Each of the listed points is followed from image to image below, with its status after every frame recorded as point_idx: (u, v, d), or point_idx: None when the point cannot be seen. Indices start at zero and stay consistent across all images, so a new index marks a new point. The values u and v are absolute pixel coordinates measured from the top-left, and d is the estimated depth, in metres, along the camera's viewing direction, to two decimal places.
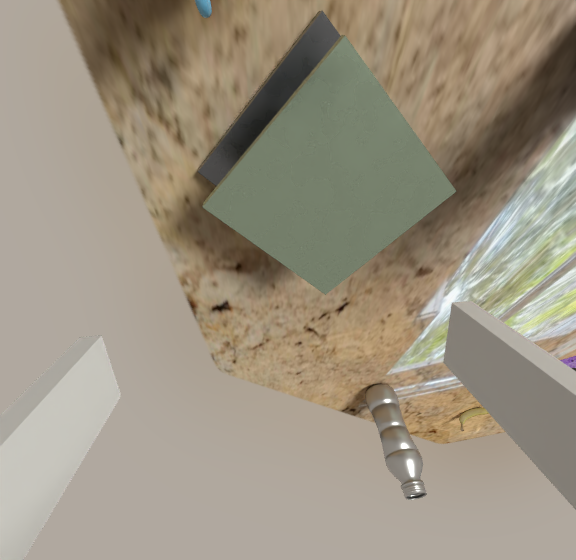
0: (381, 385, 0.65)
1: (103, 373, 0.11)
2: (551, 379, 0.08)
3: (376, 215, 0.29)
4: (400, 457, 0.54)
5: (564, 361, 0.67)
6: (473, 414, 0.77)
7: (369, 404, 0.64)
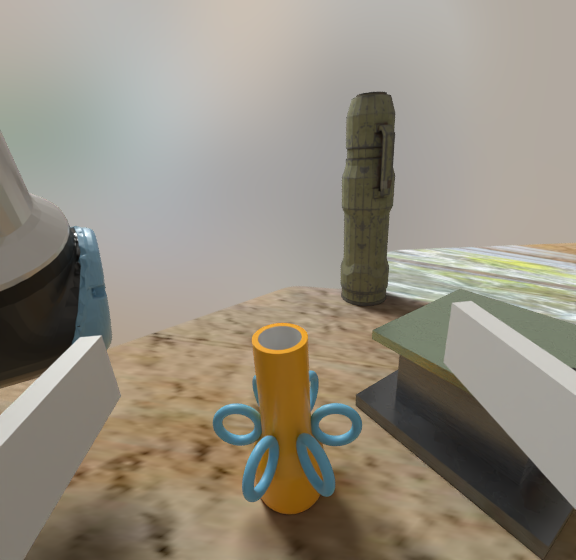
0: None
1: (103, 373, 0.11)
2: (551, 379, 0.08)
3: (500, 316, 0.33)
4: None
5: None
6: None
7: None
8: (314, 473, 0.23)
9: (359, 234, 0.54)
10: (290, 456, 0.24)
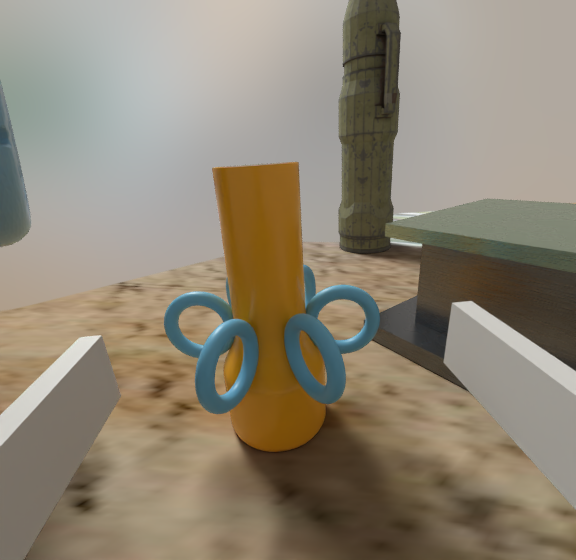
0: None
1: (103, 373, 0.11)
2: (551, 379, 0.08)
3: (548, 209, 0.26)
4: None
5: None
6: None
7: None
8: (312, 378, 0.15)
9: (359, 165, 0.47)
10: (276, 358, 0.16)
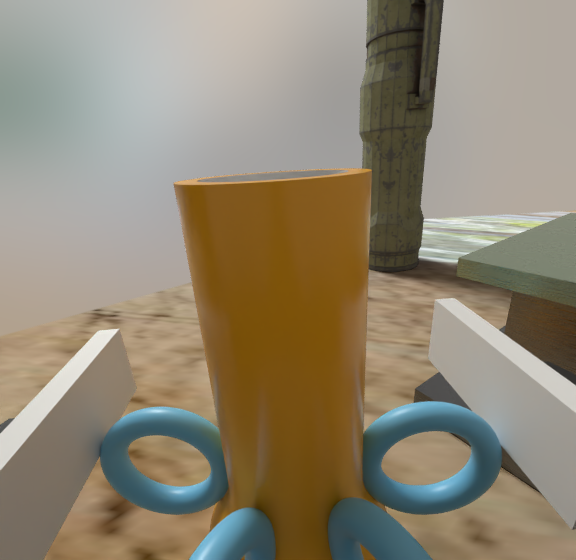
0: None
1: (121, 365, 0.11)
2: (522, 371, 0.08)
3: None
4: None
5: None
6: None
7: None
8: None
9: (385, 167, 0.39)
10: None
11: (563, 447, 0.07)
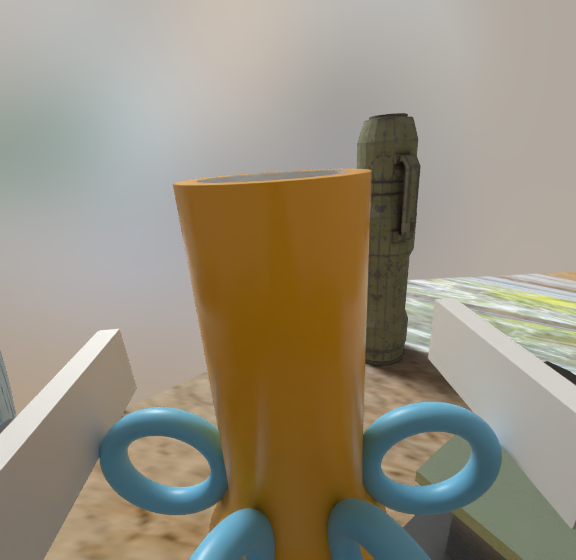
0: None
1: (121, 365, 0.11)
2: (522, 371, 0.08)
3: None
4: None
5: None
6: None
7: None
8: None
9: (373, 283, 0.44)
10: None
11: (563, 447, 0.07)
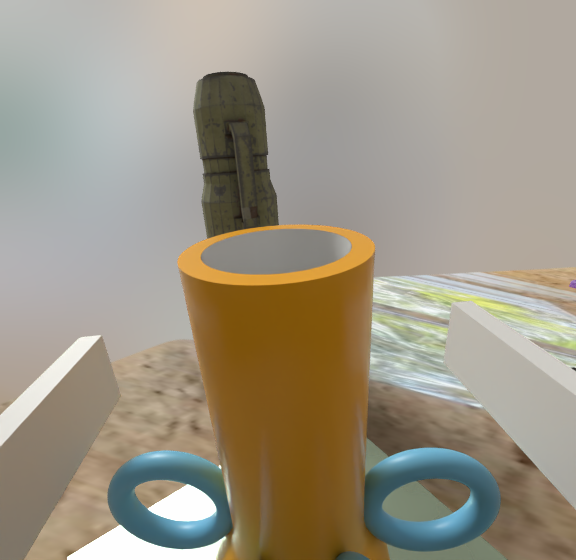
0: None
1: (103, 373, 0.11)
2: (551, 379, 0.08)
3: None
4: None
5: None
6: None
7: None
8: None
9: None
10: None
11: None
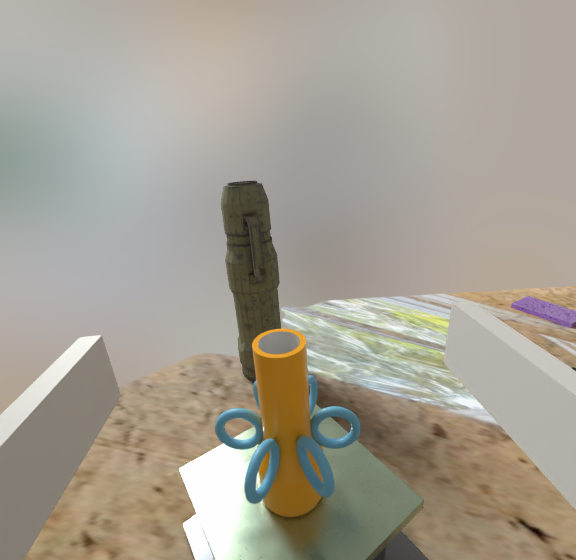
0: None
1: (103, 373, 0.11)
2: (551, 379, 0.08)
3: None
4: None
5: (528, 311, 0.74)
6: None
7: None
8: (314, 475, 0.24)
9: (244, 315, 0.54)
10: (291, 458, 0.24)
11: None
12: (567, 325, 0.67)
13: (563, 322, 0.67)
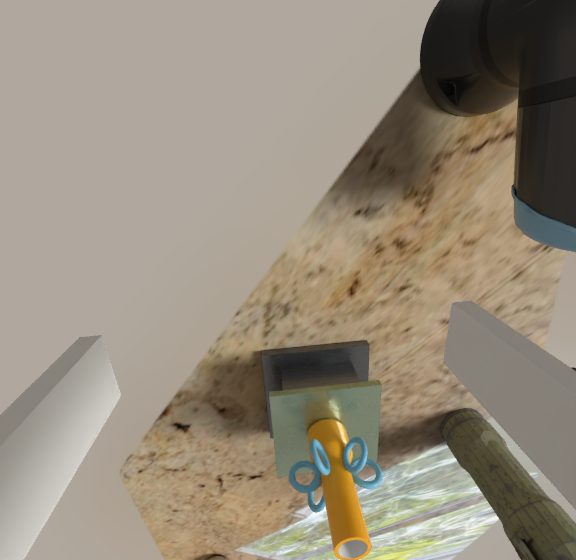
0: (225, 559, 0.70)
1: (103, 373, 0.11)
2: (551, 379, 0.08)
3: None
4: None
5: None
6: None
7: None
8: None
9: (504, 478, 0.49)
10: None
11: None
12: None
13: None
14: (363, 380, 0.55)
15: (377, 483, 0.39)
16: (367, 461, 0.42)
